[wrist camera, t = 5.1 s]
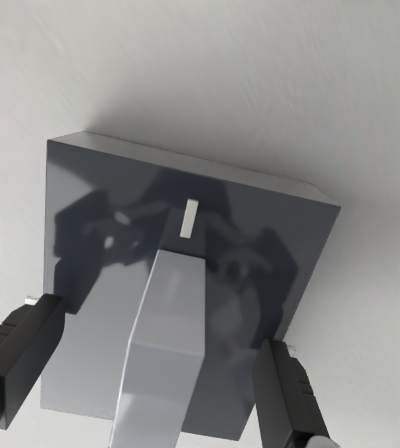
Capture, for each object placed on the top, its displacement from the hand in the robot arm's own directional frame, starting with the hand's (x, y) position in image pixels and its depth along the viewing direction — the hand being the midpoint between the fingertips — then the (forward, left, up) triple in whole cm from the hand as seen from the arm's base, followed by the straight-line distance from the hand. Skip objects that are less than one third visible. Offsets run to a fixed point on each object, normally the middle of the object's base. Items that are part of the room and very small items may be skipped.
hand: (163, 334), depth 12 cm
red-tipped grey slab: (0, 0, 0) cm, 0 cm away
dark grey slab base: (0, 0, -3) cm, 3 cm away
